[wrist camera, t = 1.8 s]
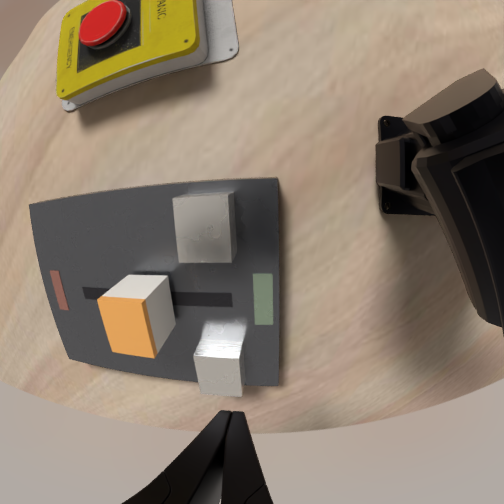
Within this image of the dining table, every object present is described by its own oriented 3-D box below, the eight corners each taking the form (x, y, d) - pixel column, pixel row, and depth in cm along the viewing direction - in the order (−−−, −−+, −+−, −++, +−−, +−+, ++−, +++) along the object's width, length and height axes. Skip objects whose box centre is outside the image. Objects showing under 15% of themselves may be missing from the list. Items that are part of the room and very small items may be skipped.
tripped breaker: (168, 275, 18) (141, 303, 14) (176, 324, 19) (154, 358, 15) (128, 274, 18) (97, 299, 14) (138, 321, 19) (112, 351, 15)
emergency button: (41, 17, 11) (218, -58, 9) (70, 31, 15) (227, -27, 13) (31, 110, 14) (232, 34, 12) (66, 115, 18) (241, 60, 16)
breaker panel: (277, 177, 18) (277, 179, 14) (278, 369, 22) (277, 404, 18) (44, 200, 20) (12, 209, 16) (79, 348, 24) (58, 369, 20)
